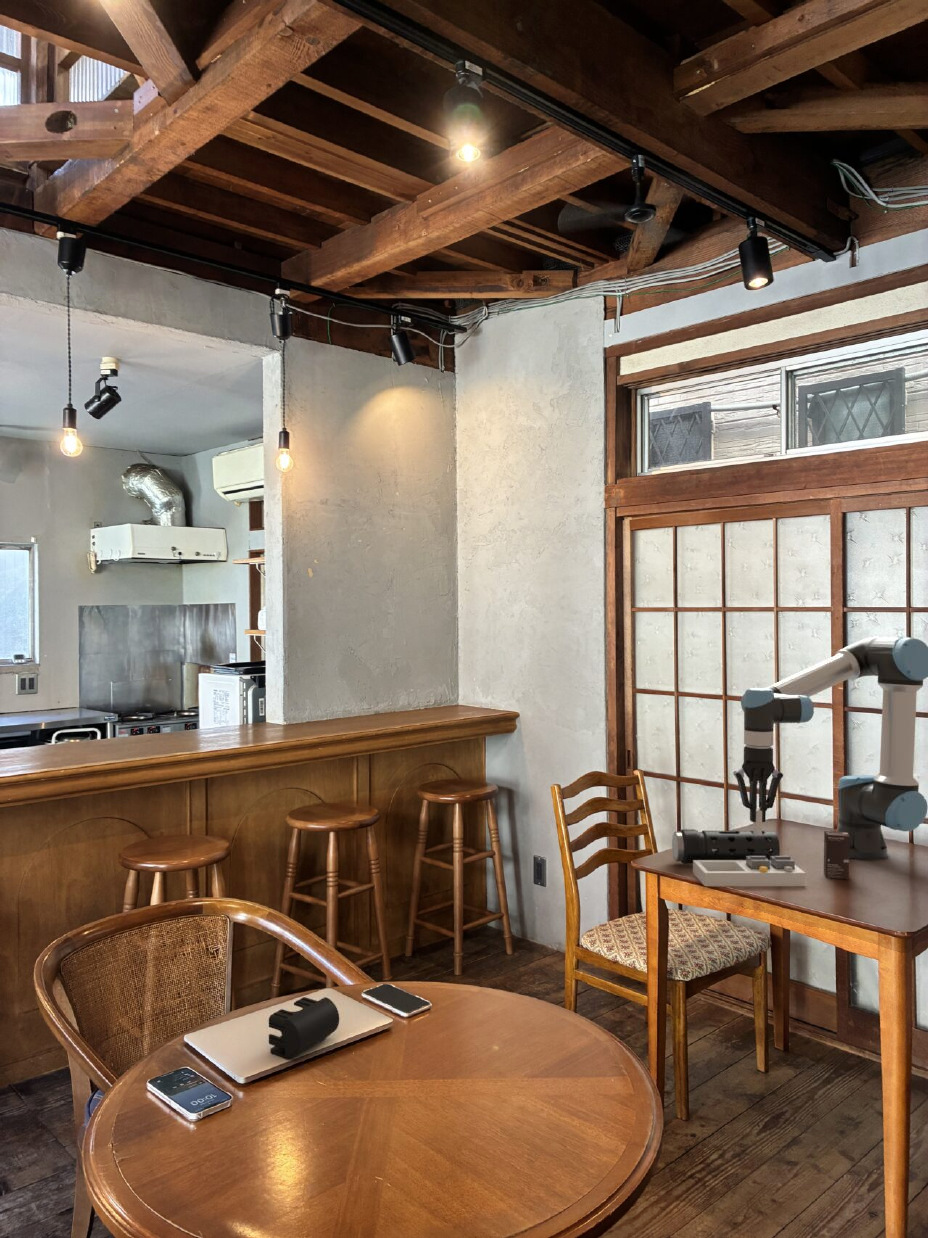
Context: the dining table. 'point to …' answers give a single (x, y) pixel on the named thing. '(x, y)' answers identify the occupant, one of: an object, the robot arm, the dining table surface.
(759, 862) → the button
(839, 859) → the box
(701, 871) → the grey compartment tray
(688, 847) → the muzzle brake
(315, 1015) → the end cap
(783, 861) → the button
